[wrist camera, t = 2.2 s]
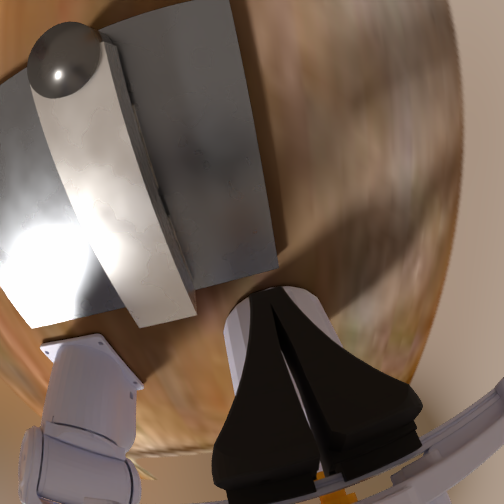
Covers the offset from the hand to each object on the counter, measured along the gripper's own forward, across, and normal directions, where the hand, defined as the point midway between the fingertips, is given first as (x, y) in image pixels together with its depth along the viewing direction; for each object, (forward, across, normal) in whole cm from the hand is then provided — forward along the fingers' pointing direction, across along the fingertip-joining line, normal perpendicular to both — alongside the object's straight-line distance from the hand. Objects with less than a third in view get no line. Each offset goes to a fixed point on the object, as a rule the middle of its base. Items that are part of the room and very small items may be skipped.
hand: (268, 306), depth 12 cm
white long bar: (+7, +6, -5) cm, 11 cm away
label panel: (+9, +9, -4) cm, 13 cm away
